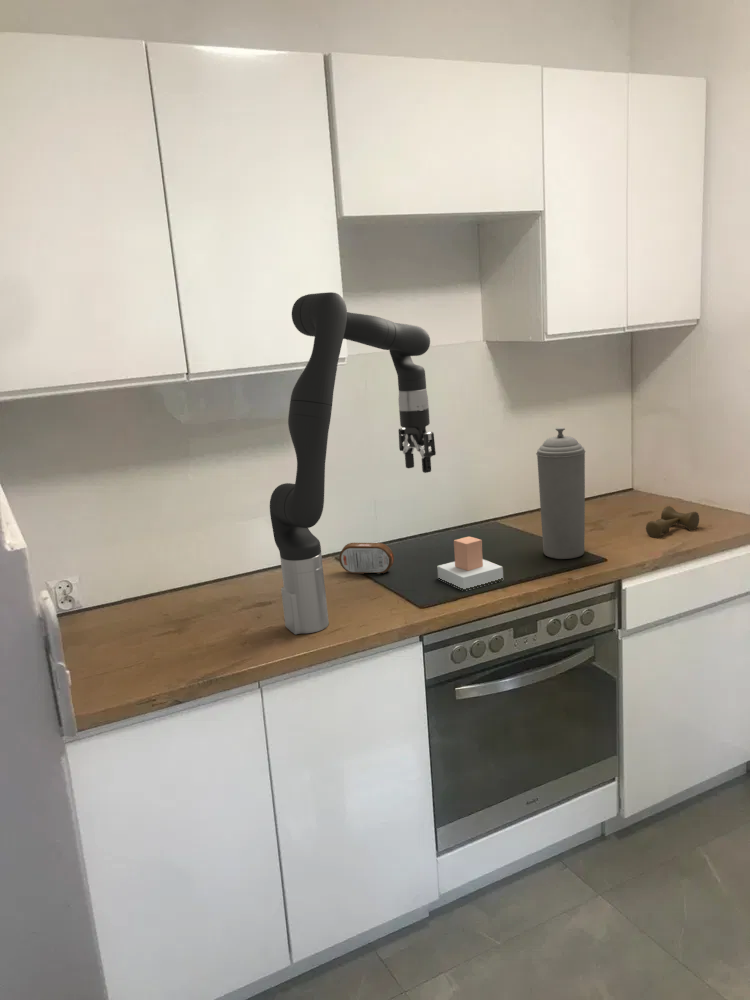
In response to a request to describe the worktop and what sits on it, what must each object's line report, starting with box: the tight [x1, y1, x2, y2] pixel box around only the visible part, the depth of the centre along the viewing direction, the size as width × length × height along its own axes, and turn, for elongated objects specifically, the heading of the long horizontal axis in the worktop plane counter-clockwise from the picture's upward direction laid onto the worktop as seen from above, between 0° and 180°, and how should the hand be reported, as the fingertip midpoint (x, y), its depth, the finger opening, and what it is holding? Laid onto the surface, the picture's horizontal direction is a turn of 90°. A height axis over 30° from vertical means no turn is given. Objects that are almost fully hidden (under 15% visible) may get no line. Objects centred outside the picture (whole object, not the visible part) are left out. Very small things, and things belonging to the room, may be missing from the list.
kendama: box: [645, 505, 700, 539], centre depth 228 cm, size 6×10×20 cm
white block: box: [436, 558, 504, 589], centre depth 201 cm, size 12×12×4 cm
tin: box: [338, 542, 395, 575], centre depth 213 cm, size 15×3×8 cm, turn 74°
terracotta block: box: [453, 536, 484, 571], centre depth 200 cm, size 5×5×7 cm
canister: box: [535, 426, 586, 560], centre depth 211 cm, size 13×13×35 cm
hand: (418, 470), depth 203 cm, fingers open, 8 cm apart
